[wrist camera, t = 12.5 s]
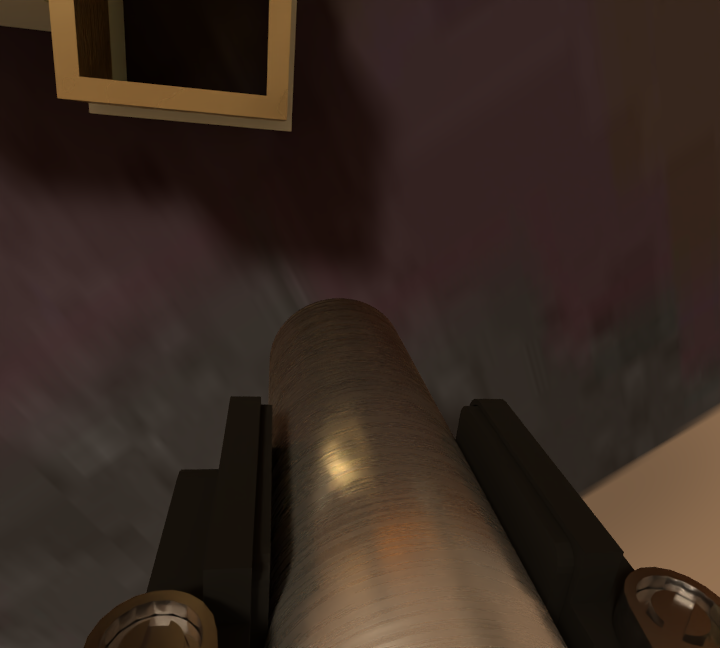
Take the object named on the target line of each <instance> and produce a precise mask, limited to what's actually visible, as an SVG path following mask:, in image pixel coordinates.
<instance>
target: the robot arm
mask: <svg viewBox="0 0 720 648" xmlns="http://www.w3.org/2000/svg"><path fill="white" fill-rule="evenodd" d="M272 407H273V405H261V397H232V396H231V398H230V403H229V409H228V416H227V422H226V428H225V434H224V441H223V447H222V453H221V459H220V465H219V469H200V470H181V471H180V472H179V475H178V478H177V481H176V485H175V489H174V492H173V496H172V500H171V504H170V507H169V511H168V515H167V518H166V522H165V526H164V529H163V533H162V537H161V541H160V544H159V548H158V552H157V555H156V559H155V563H154V567H153V570H152V574H151V578H150V581H149V585H148V589H147V592H146V593H145V594H141V595H138V596H135V597H133V598H131V599H129V600H127V601H125V602H123V603H121V604H119V605H118V606H116V607H115V608H114V609H112V610H111V611H110V612H109V613H108V614H106V615H105V616H104V617H103V618H102V619H101V620H100V621H99V622H98V623H97V625H96V626H95V627H94V629H93V630H92V632H91V633H90V634H89V636H88V637H87V640H86V643H85V645H84V648H264V645H265V641H266V638H267V635H268V613H269V588H270V555H271V482H272ZM456 442H457V444H458V446H459V448H460V450H461V452H462V453H463V455H464V457H465V459H466V461H467V463H468V465H469V466H470V468H471V470H472V472H473V474H474V476H475V477H476V479H477V481H478V483H479V485H480V487H481V489H482V490H483V492H484V494H485V496H486V498H487V500H488V502H489V503H490V505H491V507H492V509H493V511H494V513H495V514H496V516H497V518H498V520H499V522H500V524H501V526H502V527H503V529H504V531H505V533H506V535H507V537H508V539H509V540H510V542H511V544H512V546H513V548H514V550H515V551H516V553H517V555H518V557H519V559H520V561H521V563H522V564H523V566H524V568H525V570H526V572H527V574H528V576H529V577H530V579H531V581H532V583H533V585H534V587H535V588H536V590H537V592H538V594H539V596H540V598H541V600H542V601H543V603H544V605H545V607H546V609H547V611H548V613H549V614H550V616H551V618H552V620H553V622H554V624H555V625H556V627H557V629H558V631H559V633H560V635H561V637H562V638H563V640H564V642H565V644H566V646H567V648H720V597H718V596H717V595H716V594H715V593H713V592H712V591H711V590H709V589H708V588H707V587H706V586H703V585H702V584H700V583H699V582H697V581H695V580H693V579H691V578H690V577H687V576H685V575H682V574H680V573H677V572H675V571H672V570H668V569H662V568H657V567H645V568H639V569H637V570H634V569H633V568H632V567H631V565H630V564H629V563H628V561H627V560H626V559H625V558H624V556H623V553H624V552H623V551H622V549H621V548H620V547H619V545H618V544H617V543H616V542H615V540H614V539H613V538H612V536H611V535H610V534H609V533H608V531H607V530H606V529H605V528H604V526H603V525H602V524H601V522H600V521H599V520H598V519H597V517H596V516H595V515H594V514H593V512H592V511H591V510H590V508H589V507H588V506H587V505H586V503H585V502H584V501H583V500H582V498H581V497H580V496H579V494H578V493H577V492H576V491H575V489H574V488H573V487H572V486H571V484H570V483H569V482H568V480H567V479H566V478H565V477H564V475H563V474H562V473H561V472H560V470H559V469H558V468H557V466H556V465H555V464H554V463H553V461H552V460H551V459H550V458H549V456H548V455H547V454H546V452H545V451H544V450H543V449H542V447H541V446H540V445H539V444H538V442H537V441H536V440H535V438H534V437H533V436H532V435H531V433H530V432H529V431H528V430H527V428H526V427H525V426H524V424H523V423H522V422H521V421H520V419H519V418H518V417H517V416H516V414H515V413H514V412H513V411H512V409H511V408H510V407H509V405H508V404H507V403H506V402H505V401H504V400H503V399H474V400H472V402H471V404H470V406H464V407H463V408H462V410H461V414H460V419H459V425H458V430H457V436H456Z"/></svg>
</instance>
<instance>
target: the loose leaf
mask: <svg viewBox="0 0 720 648" xmlns="http://www.w3.org/2000/svg"><path fill="white" fill-rule="evenodd" d="M108 7H109V24H110V41H111V58H112V75H113V80H118V81H127V70H126V51H125V31H124V11H123V0H108ZM296 8H297V0H292V5H291V30H290V56H289V81H288V107H287V120H286V121H284V122H280V121H270V120H259V119H249V118H238V117H227V116H217V115H206V114H196V113H185V112H175V111H164V110H154V109H143V108H132V107H122V106H111V105H101V104H92V103H89V113H94V114H105V115H115V116H126V117H137V118H148V119H159V120H170V121H181V122H191V123H202V124H213V125H224V126H235V127H246V128H257V129H268V130H279V131H291V127H292V103H293V79H294V55H295V32H296ZM0 26H8V27H16V28H25V29H33V30H42V31H51V22H50V11H49V0H0Z"/></svg>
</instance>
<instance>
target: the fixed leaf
mask: <svg viewBox="0 0 720 648" xmlns="http://www.w3.org/2000/svg"><path fill="white" fill-rule="evenodd" d="M291 5H292V0H269V23H268V60H267V96H263V95H253V94H244V93H234V92H224V91H215V90H205V89H195V88H185V87H176V86H166V85H156V84H147V83H137V82H127V81H118V80H113V75H112V58H111V41H110V24H109V7H108V0H49V11H50V22H51V33H52V44H53V55H54V66H55V77H56V88H57V98H59V99H66V100H72V101H79V102H86V103H92V104H101V105H111V106H122V107H132V108H143V109H154V110H164V111H175V112H185V113H196V114H206V115H217V116H227V117H238V118H249V119H259V120H270V121H280V122H284V121H286V120H287V107H288V81H289V56H290V30H291Z"/></svg>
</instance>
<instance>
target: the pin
mask: <svg viewBox="0 0 720 648" xmlns="http://www.w3.org/2000/svg"><path fill="white" fill-rule="evenodd" d="M268 405H273V407H272V482H271V555H270V588H269V613H268V635H267V638H266V641H265V645H264V648H567V646H566V644H565V642H564V640H563V638H562V637H561V635H560V633H559V631H558V629H557V627H556V625H555V624H554V622H553V620H552V618H551V616H550V614H549V613H548V611H547V609H546V607H545V605H544V603H543V601H542V600H541V598H540V596H539V594H538V592H537V590H536V588H535V587H534V585H533V583H532V581H531V579H530V577H529V576H528V574H527V572H526V570H525V568H524V566H523V564H522V563H521V561H520V559H519V557H518V555H517V553H516V551H515V550H514V548H513V546H512V544H511V542H510V540H509V539H508V537H507V535H506V533H505V531H504V529H503V527H502V526H501V524H500V522H499V520H498V518H497V516H496V514H495V513H494V511H493V509H492V507H491V505H490V503H489V502H488V500H487V498H486V496H485V494H484V492H483V490H482V489H481V487H480V485H479V483H478V481H477V479H476V477H475V476H474V474H473V472H472V470H471V468H470V466H469V465H468V463H467V461H466V459H465V457H464V455H463V453H462V452H461V450H460V448H459V446H458V444H457V442H456V440H455V439H454V437H453V435H452V433H451V431H450V429H449V428H448V426H447V424H446V422H445V420H444V418H443V416H442V415H441V413H440V411H439V409H438V407H437V405H436V403H435V402H434V400H433V398H432V396H431V394H430V392H429V391H428V389H427V387H426V385H425V383H424V381H423V379H422V378H421V376H420V374H419V372H418V370H417V368H416V366H415V365H414V363H413V361H412V359H411V357H410V355H409V354H408V352H407V350H406V348H405V346H404V344H403V342H402V341H401V339H400V337H399V335H398V333H397V331H396V330H395V328H394V326H393V325H392V323H391V322H390V321H389V319H388V318H387V317H386V316H385V315H384V314H383V313H381V312H380V311H379V310H377V309H376V308H374V307H372V306H370V305H368V304H366V303H363V302H361V301H357V300H353V299H345V298H333V299H326V300H321V301H318V302H315V303H312V304H310V305H307V306H305V307H304V308H302V309H300V310H299V311H297V312H296V313H295V314H293V315H292V316H291V317H290V318H289V319H288V320H287V321H286V322H285V323H284V324H283V326H282V327H281V328H280V330H279V331H278V333H277V335H276V337H275V339H274V341H273V344H272V348H271V352H270V366H269V401H268Z"/></svg>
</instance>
